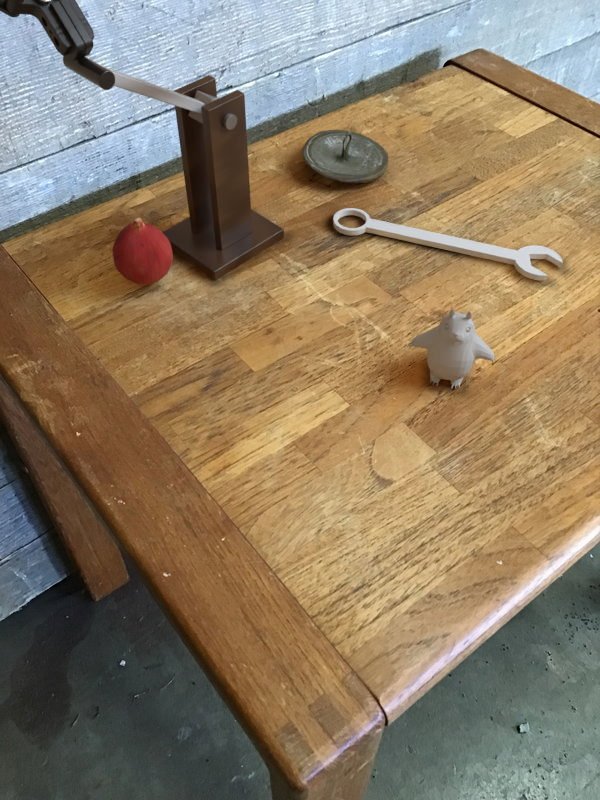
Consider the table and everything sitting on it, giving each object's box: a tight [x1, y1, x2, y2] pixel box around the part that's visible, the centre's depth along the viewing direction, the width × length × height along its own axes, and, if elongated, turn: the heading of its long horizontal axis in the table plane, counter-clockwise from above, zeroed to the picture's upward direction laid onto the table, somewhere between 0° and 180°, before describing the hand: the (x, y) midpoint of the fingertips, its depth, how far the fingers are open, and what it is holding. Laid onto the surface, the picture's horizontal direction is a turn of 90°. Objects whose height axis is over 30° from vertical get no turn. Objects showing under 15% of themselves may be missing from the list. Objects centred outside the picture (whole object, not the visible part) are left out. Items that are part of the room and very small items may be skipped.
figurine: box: [407, 308, 497, 390], centre depth 65 cm, size 8×6×8 cm
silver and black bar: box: [62, 55, 220, 124], centre depth 63 cm, size 16×5×2 cm
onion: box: [111, 217, 174, 286], centre depth 73 cm, size 6×6×8 cm
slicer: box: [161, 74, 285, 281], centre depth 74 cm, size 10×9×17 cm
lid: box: [301, 129, 389, 184], centre depth 88 cm, size 11×10×5 cm
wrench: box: [332, 207, 564, 281], centre depth 79 cm, size 25×1×5 cm
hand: (83, 53), depth 56 cm, fingers closed
